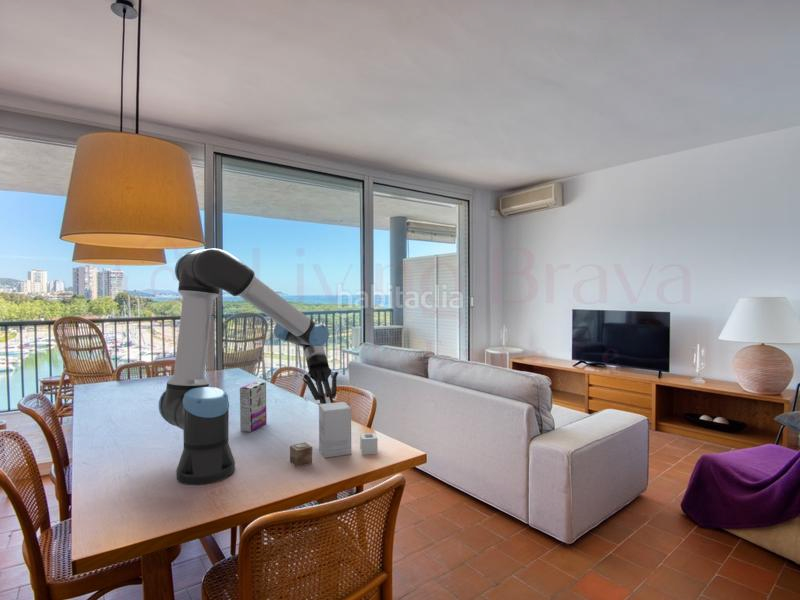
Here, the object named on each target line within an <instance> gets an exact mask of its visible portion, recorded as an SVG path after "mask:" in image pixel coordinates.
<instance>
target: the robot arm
mask: <svg viewBox="0 0 800 600" xmlns="http://www.w3.org/2000/svg"><path fill="white" fill-rule="evenodd" d="M255 272H256V271H254V270H253V269H252V268H250V267H249V266H248V265H247V264H245V263H244V262H243V261H241V260H240V259H239V258H238V257H236V256H234V255H233V254H231V253H229V252H228V251H226V250H223V249H220V248H207V249H196V250H191V251H188V252H187V253H184V254H182V255H181V256H180V257H179V258H178V260H177V261H176V263H175V267H174V275H175V278H176V279H177V280H178V289H177V292H178V293H179V295H180V296H181V297H182V303H181V311H180V319H179V328H178V337H177V346H176V353H175V361H174V370H173V375H172V377H170V378H169V379H168V380H166V381H167V382H166V387H165V390H164V392H162V394H161V395H160V398H159V400H158V411H159V414H160V416H161V417H162V419H164V421H165V422H167V423H168V424H170V425H172V426H175V427H177V428H179V429H182V430H183V450H182V452H181V456H180V459H179V462H178V464H177V468H176V481H177V482H179V483H182V484H185V485H193V486H194V485H205V484H211V483H215V482H219V481H221V480H224V479H226V478H228V477H229V476H231V475H232V474H234V472H235V471H236V461H235V458H234V455H233V453H232V452H233V451H232V449H231V447H230V444H229V433H230V432H229V428H230V427H229V423H230V422H229V419H230V417H229V410H230V409H229V408H230V401H229V395H228V393H227V392H226V391H225V390H224V389H222V388H218V387H211V386H209V385H210V381H209V380H208V379H207V377H206V376H205V375H206V365H207V358H208V357H207V356H208V349H209V340H210V333H211V332H210V331H211V323H212V317H213V316H212V315H213V314H212V313H213V304H214V301H215V299H216V298H218V297H219V296H220V290H223V291H225V292H227V293H229V294H230V295H231V296H233V297H240V298H241V299H243V300H244V301H246V303H249V304H250V305H252V306H253V307H254V308H255V309H257V310H259V311H260V312H261V313H263V314H264V315H265V316H267V317H269V319H271V320H273V321H274V322H275V326H274V329H273V335H274V337H276V338H277V339H279V340H281V341H284V342H287V343H291V344H294V345H297V346H300V347H302V349H303V353H304V357H305V361H306V366H307V371H308V372H307V374H303V378H302V381H303V382H304V383H306V386H307V387H308V389H309V391H310V393H311V395H312V397H313V399H314V400H315V401H319V402H320V404H327V403H334V400H333V399H335V398H336V396H337V392H338V391H337V380H338V379H337V377H338V375H339V372H338V371H335V372H334V371H332V369H331V368H330V366H329V365H330V364H329V361H328V358H327V354H326V350H325V346H324V345H325V344H326V343H327V342H328V341H329V336H330V331H329V329H328V327H327V326H326V325H324V324H321V323H316V322H315V321H313V320H312V319H311V318H310V317H308V316H306V315H305V314H304V313H303V312H301V311H300V310H299V309H297V308H296V307H295V306H294V305H292V304H291V303H290V302H289V301H287V300H286V299H284V298H283V297H282V296H281V295H280V294H278V293H277V292H276V291H274V290H273V289H272V288H271V287H269V286H268V285H267V284H265V283H264V282H263V281H262V280H260V279H259V278H258V277H257V276H256V274H255ZM329 378H331V386H330V383H329ZM313 381H314V382H315V383H314V382H313ZM315 385H316V386H315Z"/></svg>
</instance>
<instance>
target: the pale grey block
mask: <svg viewBox="0 0 800 600" xmlns="http://www.w3.org/2000/svg"><path fill="white" fill-rule="evenodd" d="M359 438H360V439H359V450H360V453H361V455H375V454H378V436H377V434H376V433H375V432H374V433H373V432H372V433H360V436H359Z"/></svg>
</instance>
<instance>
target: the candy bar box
mask: <svg viewBox="0 0 800 600" xmlns="http://www.w3.org/2000/svg"><path fill="white" fill-rule="evenodd" d="M239 411H240V413H239V415H240V416H239V417H240V423H239V425H240V427H239V428H240V429H239V430H240V432H243V431H247V432H246V433H253V432H254V431H256V430H257V429H259V428H261V427H262V426H264V425H266V424H267V382H266V381H254V382H251V383H249V384H246V385H244V386H241V387H240V388H239Z"/></svg>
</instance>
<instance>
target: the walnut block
mask: <svg viewBox="0 0 800 600" xmlns="http://www.w3.org/2000/svg"><path fill="white" fill-rule="evenodd" d="M289 462H290V463H291V464H292V463H293V464H294V465H293V464H292V465H293V466H295V468H299V467H303V466H306V464H307V465H310V463H311V464H313V446H311V445H310V444H308V443H307V442H300V443H296V444H292V445H291V444H290V445H289ZM298 466H299V467H298Z"/></svg>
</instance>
